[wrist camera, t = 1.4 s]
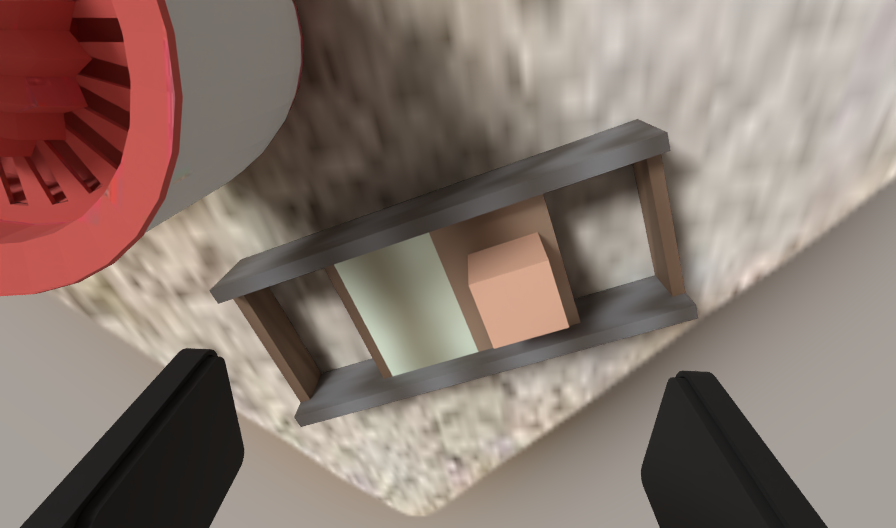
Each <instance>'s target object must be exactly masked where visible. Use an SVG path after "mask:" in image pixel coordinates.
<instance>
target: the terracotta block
mask: <svg viewBox="0 0 896 528" xmlns="http://www.w3.org/2000/svg"><path fill="white" fill-rule="evenodd" d="M468 285H469V288H470V290H471V293H472V295H473V298H474V300H475V303H476V305H477V308H478V310H479V313H480V315H481V318H482V320H483V323H484V325H485V328H486V330H487V333H488V335H489V338H490V340H491V343H492V345H493V348H494V349H495V348H499V347H502V346H506V345H509V344H513V343H516V342H520V341H523V340H527V339H530V338H534V337H537V336H541V335H544V334H548V333H552V332H555V331H559V330H562V329H566V328H569V325H568V322H567V318H566V315H565V312H564V309H563V305H562V302H561V299H560V296H559V292H558V289H557V286H556V283H555V279H554V276H553V273H552V270H551V266H550V263H549V260H548V257H547V255H546V252H545V250H544V247H543V245H542V242H541V240H540V237H539V235H538V232H536V233H533V234H530V235H527V236H524V237H521V238H518V239H515V240H512V241H509V242H506V243H502V244H499V245H496V246H493V247H490V248H487V249H484V250H481V251H478V252H475V253H472V254H469V255H468Z"/></svg>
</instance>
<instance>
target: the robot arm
mask: <svg viewBox="0 0 896 528" xmlns="http://www.w3.org/2000/svg"><path fill="white" fill-rule="evenodd" d="M243 458H244V446H243V441H242V436H241V432H240V427H239V423H238V418H237V414H236V409H235V405H234V400H233V396H232V391H231V386H230V382H229V377H228V373H227V368H226V364H225V361H224V359H223V358H222V357H218V356H217V353H216V352H215V351H214V350H211V349H191V348H185V349H182V350H181V351H180V352H179V353H178V354H177V355H176V356H175V357H174V358H173V359H172V360H171V362H170V363H169V364H168V365H167V366H166V367H165V368H164V369H163V370H162V372H161V373H160V374H159V375H158V376H157V377H156V378H155V379H154V380H153V381H152V382H151V384H150V385H149V386H148V387H147V388H146V389H145V390H144V391H143V393H142V394H141V395H140V396H139V397H138V398H137V399H136V400H135V401H134V402H133V403H132V405H131V406H130V407H129V408H128V409H127V410H126V411H125V412H124V413H123V414H122V416H121V417H120V418H119V419H118V420H117V421H116V422H115V423H114V424H113V425H112V427H111V428H110V429H109V430H108V431H107V432H106V433H105V434H104V435H103V437H102V438H101V439H100V440H99V441H98V442H97V443H96V444H95V445H94V447H93V448H92V449H91V450H90V451H89V452H88V453H87V454H86V455H85V456H84V457H83V459H82V460H81V461H80V462H79V463H78V464H77V465H76V466H75V467H74V468H73V470H72V471H71V472H70V473H69V474H68V475H67V476H66V477H65V478H64V480H63V481H62V482H61V483H60V484H59V485H58V486H57V487H56V488H55V489H54V491H53V492H52V493H51V494H50V495H49V496H48V497H47V498H46V499H45V501H44V502H43V503H42V504H41V505H40V506H39V507H38V508H37V509H36V510H35V511H34V513H33V514H32V515H31V516H30V517H29V518H28V519H27V520H26V521H25V522H24V524H23V525H22V526H21V527H20V528H209V527H210V525H211V523H212V521H213V519H214V517H215V515H216V513H217V511H218V509H219V507H220V505H221V504H222V502H223V500H224V498H225V496H226V494H227V492H228V490H229V488H230V486H231V485H232V483H233V480H234V479H235V477H236V475H237V473H238V471H239V469H240V467H241V465H242V462H243ZM641 479H642V484H643V487H644V489H645V492H646V494H647V497H648V499H649V502H650V504H651V507H652V509H653V512H654V514H655V517H656V519H657V522H658V524H659V526H660V528H828V527H827V526H826V525H825V523H824V522H823V520H822V519H821V518H820V516H819V515H818V514H817V512H816V511H815V510H814V508H813V507H812V506H811V505H810V503H809V502H808V500H807V499H806V498H805V496H804V495H803V494H802V493H801V491H800V490H799V488H798V487H797V486H796V484H795V483H794V482H793V480H792V479H791V478H790V476H789V475H788V474H787V472H786V471H785V470H784V468H783V467H782V466H781V464H780V463H779V462H778V460H777V459H776V458H775V456H774V455H773V453H772V452H771V451H770V450H769V448H768V447H767V446H766V444H765V443H764V441H763V440H762V439H761V437H760V436H759V435H758V433H757V432H756V431H755V429H754V428H753V427H752V425H751V424H750V423H749V421H748V420H747V419H746V417H745V416H744V415H743V413H742V412H741V411H740V409H739V408H738V407H737V405H736V404H735V403H734V401H733V400H732V398H731V397H730V396H729V394H728V393H727V392H726V390H725V389H724V388H723V387H722V385H721V384H720V382H719V381H718V380H717V379H716V377H715V376H714V375H713V374H712V373H710V372H698V371H680V372H679V373H678V374H677V375H676V377H675V378H674V377H673V378H670V379H669V380H668V382H667V385H666V389H665V392H664V395H663V398H662V402H661V405H660V408H659V412H658V415H657V418H656V422H655V425H654V428H653V431H652V435H651V438H650V441H649V444H648V448H647V451H646V454H645V457H644V461H643V464H642V468H641Z"/></svg>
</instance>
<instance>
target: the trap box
mask: <svg viewBox="0 0 896 528" xmlns="http://www.w3.org/2000/svg"><path fill="white" fill-rule="evenodd" d="M668 151H670V146H669V140H668V133H667V132H665V131H663V130H661V129H659V128H656V127H654V126H652V125H650V124H647V123H645V122H643V121H641V120H638V119H637V120H634V121H631V122H628V123H625V124H623V125H620V126H617V127H614V128H611V129H609V130H606V131H603V132H600V133H597V134H594V135H592V136H589V137H586V138H583V139H580V140H577V141H575V142H572V143H569V144H566V145H563V146H561V147H558V148H555V149H552V150H549V151H546V152H544V153H541V154H538V155H535V156H532V157H530V158H527V159H524V160H521V161H518V162H515V163H513V164H510V165H507V166H504V167H501V168H498V169H496V170H493V171H490V172H487V173H484V174H482V175H479V176H476V177H473V178H470V179H467V180H465V181H462V182H459V183H456V184H453V185H450V186H448V187H445V188H442V189H439V190H436V191H434V192H431V193H428V194H425V195H422V196H419V197H417V198H414V199H411V200H408V201H405V202H403V203H400V204H397V205H394V206H391V207H388V208H386V209H383V210H380V211H377V212H374V213H371V214H369V215H366V216H363V217H360V218H357V219H355V220H352V221H349V222H346V223H343V224H340V225H338V226H335V227H332V228H329V229H326V230H324V231H321V232H318V233H315V234H312V235H309V236H307V237H304V238H301V239H298V240H295V241H292V242H290V243H287V244H284V245H281V246H278V247H276V248H273V249H270V250H267V251H264V252H261V253H259V254H256V255H253V256H250V257H247V258H245V259H242V260H240V261H239V262H238V263H237V264H236V265H235V266H234V267H233V268H232V269H231V270H230V271H229V272H228V273H227V274H226V275H225V276H224V277H223V278H222V279H221V280H220V281H219V282H218V283H217V284H216V285H215V286H214V287H213V288H212V289H211V290H210V292H211V294H212V295H213V297H214V298H215V300H216V301H217V303H218V304H219V303H222V302H225V301H228V300H231V299H234V301H235V302H236V304H237V305H238V307H239V308H240V310H241V311H242V313H243V314H244V316H245V318H246V319H247V321H248V322H249V324H250V325H251V327H252V328H253V330H254V331H255V333H256V334H257V336H258V337H259V339H260V341H261V342H262V344H263V345H264V347H265V348H266V350H267V351H268V353H269V354H270V356H271V357H272V359H273V361H274V362H275V364H276V365H277V367H278V368H279V370H280V371H281V373H282V374H283V376H284V377H285V379H286V380H287V382H288V384H289V385H290V387H291V388H292V390H293V391H294V393H295V394H296V396H297V397H298V399H299V400H300V402H301V403H300V405H299V408H298V410H297V412H296V414H295V417H294V418H295V419H296V421H297V422H298V423H299V425H300V426H301V427H303V426H306V425H310V424H314V423H317V422H321V421H325V420H328V419H332V418H336V417H339V416H343V415H347V414H350V413H354V412H357V411H361V410H365V409H368V408H372V407H376V406H379V405H383V404H387V403H390V402H394V401H398V400H401V399H405V398H409V397H412V396H416V395H420V394H423V393H427V392H430V391H434V390H438V389H441V388H445V387H449V386H452V385H456V384H460V383H463V382H467V381H471V380H474V379H478V378H482V377H485V376H489V375H493V374H496V373H500V372H504V371H507V370H511V369H514V368H518V367H522V366H525V365H529V364H533V363H536V362H540V361H544V360H547V359H551V358H555V357H558V356H562V355H566V354H569V353H573V352H577V351H580V350H584V349H587V348H591V347H595V346H598V345H602V344H606V343H609V342H613V341H617V340H620V339H624V338H628V337H631V336H635V335H639V334H642V333H646V332H650V331H653V330H657V329H661V328H664V327H668V326H671V325H675V324H679V323H682V322H686V321H690V320H693V319H697V318H698V314H697V308H696V304H695V303H694V302H693V301H692V300H691V299H690V298H689V297H688V295H687V294H686V293H685V288H684V282H683V276H682V271H681V265H680V259H679V254H678V248H677V242H676V237H675V231H674V225H673V219H672V214H671V208H670V202H669V197H668V191H667V185H666V179H665V174H664V168H663V162H662V157H661V154H662V153H665V152H668ZM630 164H633V168H634V173H635V178H636V183H637V188H638V193H639V198H640V203H641V208H642V213H643V218H644V223H645V228H646V232H647V237H648V242H649V247H650V252H651V257H652V262H653V267H654V272H655V276H652V277H648V278H645V279H641V280H638V281H635V282H631V283H628V284H624V285H621V286H618V287H614V288H611V289H607V290H604V291H601V292H597V293H594V294H590V295H587V296H584V297H580V298H577V299H574V298H573V294H572V291H571V288H570V284H569V281H568V277H567V274H566V271H565V267H564V264H563V260H562V257H561V254H560V250H559V247H558V243H557V240H556V236H555V233H554V230H553V226H552V223H551V219H550V216H549V213H548V209H547V206H546V202H545V199H544V196H543V194H544V193H547V192H550V191H553V190H556V189H559V188H562V187H565V186H567V185H570V184H573V183H576V182H579V181H582V180H585V179H588V178H591V177H594V176H597V175H600V174H603V173H606V172H609V171H612V170H615V169H618V168H621V167H624V166H627V165H630ZM536 232H538V235H539V237H540V240H541V242H542V245H543V247H544V250H545V252H546V255H547V257H548V260H549V263H550V266H551V270H552V273H553V276H554V279H555V283H556V286H557V289H558V292H559V296H560V299H561V302H562V305H563V309H564V312H565V315H566V318H567V322H568V325H569V328H566V329H562V330H559V331H555V332H552V333H548V334H544V335H541V336H537V337H534V338H530V339H527V340H523V341H520V342H516V343H513V344H509V345H506V346H502V347H499V348H495V349H494V348H493V345H492V343H491V340H490V338H489V335H488V333H487V330H486V328H485V325H484V323H483V320H482V318H481V315H480V313H479V310H478V308H477V305H476V303H475V300H474V298H473V295H472V293H471V290H470V288H469V285H468V255H469V254H472V253H475V252H478V251H481V250H484V249H487V248H490V247H493V246H496V245H499V244H502V243H506V242H509V241H512V240H515V239H518V238H521V237H524V236H527V235H530V234H533V233H536ZM322 268H325V270H326V272H327V274H328V276H329V278H330V280H331V282H332V283H333V285H334V287H335V289H336V291H337V293H338V295H339V296H340V298H341V300H342V302H343V304H344V306H345V308H346V309H347V311H348V313H349V315H350V317H351V319H352V321H353V322H354V324H355V326H356V328H357V330H358V332H359V334H360V335H361V337H362V339H363V341H364V343H365V345H366V347H367V348H368V350H369V352H370V354H371V356H372V358H373V359H369V360H366V361H363V362H359V363H356V364H352V365H349V366H346V367H342V368H339V369H335V370H332V371H329V372H325V373H322V374H321V372H320V371H319V369H318V367H317V366H316V364H315V362H314V361H313V359H312V358H311V356H310V354H309V353H308V351H307V349H306V348H305V346H304V344H303V343H302V341H301V339H300V338H299V336H298V334H297V333H296V331H295V329H294V328H293V326H292V325H291V323H290V321H289V320H288V318H287V316H286V315H285V313H284V311H283V310H282V308H281V306H280V305H279V303H278V301H277V300H276V298H275V296H274V295H273V293H272V292H271V290H270V288H269V286H272V285H275V284H278V283H281V282H284V281H287V280H290V279H293V278H296V277H299V276H302V275H305V274H307V273H310V272H313V271H316V270H319V269H322Z"/></svg>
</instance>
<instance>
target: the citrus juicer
mask: <svg viewBox="0 0 896 528" xmlns="http://www.w3.org/2000/svg"><path fill="white" fill-rule="evenodd" d="M302 67H303V35H302V30H301V25H300V20H299V15H298V9H297V6H296V4H295V1H294V0H0V296H9V295H26V294H37V293H42V292H45V291H49V290H53V289H56V288H60V287H64V286H68V285H71V284H75V283H79V282H81V281H83V280H84V279H86V278H88V277H90V276H92V275H94V274H95V273H97V272H99V271H101V270H103V269H104V268H106V267H108V266H110V265H112V264H114V263H115V262H116V261H117V260H118V259H119V258H120V257H121V256H122V255H123V254H124V253H125V252H126V251H127V250H129V249H130V248H131V247H132V246H133V245H134V244H135V243H136V242H137V241H138V240H139V239H140V238H141V237H142V236H143V235H144V233H145V232H147V231H149V230H150V229H152V228H154V227H155V226H157V225H159V224H160V223H162V222H164V221H165V220H167V219H169V218H170V217H172V216H174V215H175V214H177V213H178V212H180V211H182V210H183V209H185V208H187V207H188V206H190V205H192V204H193V203H195V202H197V201H198V200H200V199H202V198H203V197H205V196H207V195H208V194H210V193H212V192H213V191H215V190H216V189H218V188H220V187H221V186H223V185H225V184H226V183H228V182H229V181H230V180H232V179H233V178H234V177H236V176H237V175H238V174H239V173H241V172H242V171H243V170H244V169H245V168H247V167H248V166H249V165H250V164H251V163H252V162H253V161H254V160H255V159H256V158H257V157H258V156H260V155H261V154H262V153H263V151H264V150H265V149H266V147H267V146H268V145H269V143H270V142H271V140H272V139H273V138H274V136H275V135H276V133H277V132H278V130H279V129H280V127H281V126H282V124H283V123H284V121H285V120H286V117H287V115H288V112H289V111H290V109H291V107H292V104H293V102H294V99H295V97H296V94H297V92H298V89H299V85H300V79H301V73H302Z"/></svg>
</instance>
